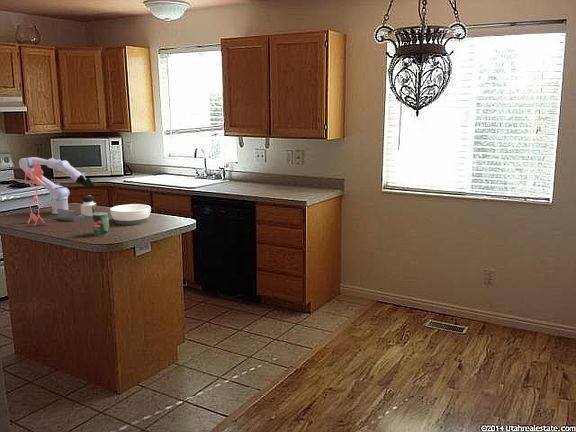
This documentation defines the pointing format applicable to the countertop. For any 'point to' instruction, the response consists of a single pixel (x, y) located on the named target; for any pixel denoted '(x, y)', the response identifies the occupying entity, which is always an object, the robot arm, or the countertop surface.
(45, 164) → the robot arm
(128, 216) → the bowl
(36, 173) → the figurine
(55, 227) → the countertop surface
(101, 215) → the canned tomato
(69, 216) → the bracket
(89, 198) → the medicine bottle
